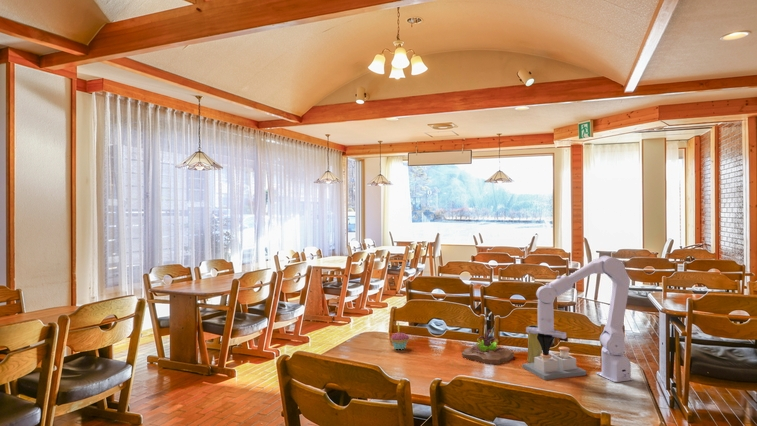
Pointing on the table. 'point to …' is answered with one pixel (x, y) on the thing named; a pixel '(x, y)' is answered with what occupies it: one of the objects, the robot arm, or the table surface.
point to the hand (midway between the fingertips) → (545, 354)
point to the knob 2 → (564, 352)
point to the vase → (533, 346)
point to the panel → (554, 367)
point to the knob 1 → (546, 357)
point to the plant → (488, 351)
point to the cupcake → (399, 339)
